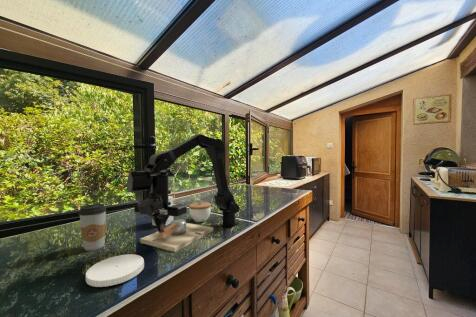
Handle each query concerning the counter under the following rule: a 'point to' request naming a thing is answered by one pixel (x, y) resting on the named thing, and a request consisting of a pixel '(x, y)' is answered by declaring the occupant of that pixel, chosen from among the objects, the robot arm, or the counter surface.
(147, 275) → the counter surface
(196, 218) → the lidded jar
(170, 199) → the supplement box
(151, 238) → the coupling base
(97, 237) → the coffee cup
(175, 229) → the handle
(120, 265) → the plastic lid
